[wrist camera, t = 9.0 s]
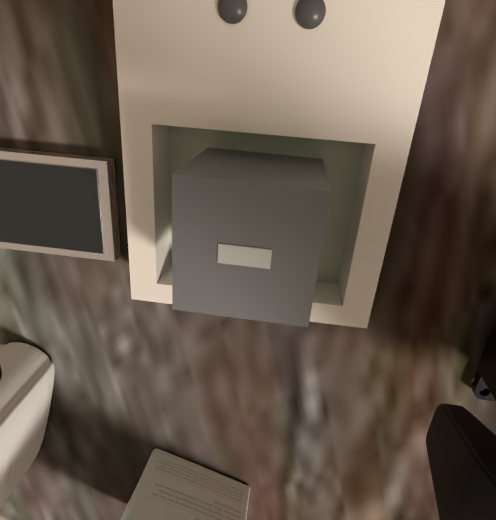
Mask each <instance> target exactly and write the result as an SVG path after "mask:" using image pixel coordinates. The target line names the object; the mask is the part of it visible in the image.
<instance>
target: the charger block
mask: <svg viewBox="0 0 496 520" xmlns="http://www.w3.org/2000/svg"><path fill="white" fill-rule="evenodd" d="M331 192H332V191H331V188H330V184H329V181H328V177H327V174H326V170H325V167H324V163H323V160H322V159H320V158H310V157H300V156H289V155H279V154H269V153H259V152H249V151H239V150H229V149H219V148H209V147H208V148H207V149H206V150H204V151H203V152H201V153H200V154H199V155H197V156H196V157H195V158H193V159H192V160H191V161H189V162H188V163H187V164H185V165H184V166H183V167H181V168H180V169H178V170H177V171H176V172H174V173H173V174H172V309H174V310H181V311H189V312H196V313H204V314H212V315H219V316H227V317H234V318H242V319H249V320H257V321H264V322H272V323H280V324H287V325H295V326H302V327H308V326H309V320H310V315H311V309H312V303H313V297H314V291H315V285H316V279H317V274H318V268H319V262H320V256H321V250H322V244H323V238H324V233H325V227H326V221H327V215H328V209H329V203H330V198H331Z"/></svg>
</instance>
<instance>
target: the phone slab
mask: <svg viewBox="0 0 496 520" xmlns="http://www.w3.org/2000/svg"><path fill="white" fill-rule="evenodd" d="M0 248H6V249H14V250H23V251H31V252H40V253H48V254H56V255H65V256H73V257H82V258H90V259H99V260H107V261H116V260H117V259H118V258H119V257H120V256H121V245H120V231H119V217H118V204H117V190H116V176H115V162H114V158H106V157H96V156H85V155H75V154H65V153H54V152H44V151H34V150H24V149H13V148H3V147H0Z"/></svg>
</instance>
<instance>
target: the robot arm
mask: <svg viewBox="0 0 496 520" xmlns="http://www.w3.org/2000/svg"><path fill="white" fill-rule="evenodd" d="M477 371H478V372H477V375H476V377H475V380H474V382H473V385H472V391H473V392H474V394H475V396H476V397H477V398H478V399H482V400H489V401H496V328H495V329H494V330H493V331H492V332H491V335H490V337H489V340H488V342H487V345H486V347H485V350H484V352H483V355H482V357H481V360H480V362H479V365H478V367H477ZM1 377H2V369H1V365H0V380H1ZM482 389H485V390H483V391H481V390H482ZM426 446H427V452H428V458H429V463H430V469H431V474H432V480H433V485H434V491H435V497H436V502H437V508H438V513H439V518H440V520H496V435H495V434H494V433H493V432H491V431H490V430H489V429H488V428H487V427H486V426H485V425H483V424H482V423H481V422H480V421H479V420H478V419H477V418H476V417H474V416H473V415H472V414H471V413H470V412H469V411H468V410H466V409H465V408H464V407H462V406H458V405H451V404H440V405H438V406H437V408H436V410H435V413H434V416H433V419H432V421H431V424H430V427H429V429H428V432H427V437H426Z"/></svg>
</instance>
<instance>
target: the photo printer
mask: <svg viewBox="0 0 496 520" xmlns="http://www.w3.org/2000/svg"><path fill="white" fill-rule="evenodd" d="M0 365H1V369H2V377H1V380H0V510H1V508H2V507H3V505H4V504H5V502H6V501H7V500H8V498H9V497H10V495H11V494H12V492H13V491H14V489H15V488H16V486H17V485H18V483H19V482H20V481H21V479H22V478H23V476H24V475H25V473H26V472H27V470H28V469H29V467H30V466H31V464H32V463H33V461H34V460H35V458H36V456H37V454H38V452H39V450H40V447H41V445H42V441H43V438H44V433H45V429H46V425H47V420H48V415H49V410H50V404H51V398H52V391H53V385H54V374H55V372H54V364H53V363H52V362H50V359H49V357H48V356H47V355H46V354H45V353H44V352H42V351H41V350H39V349H38V348H36V347H34V346H31V345H29V344H25V343H21V342H11V343H8V344H7V345H3V344H0Z"/></svg>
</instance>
